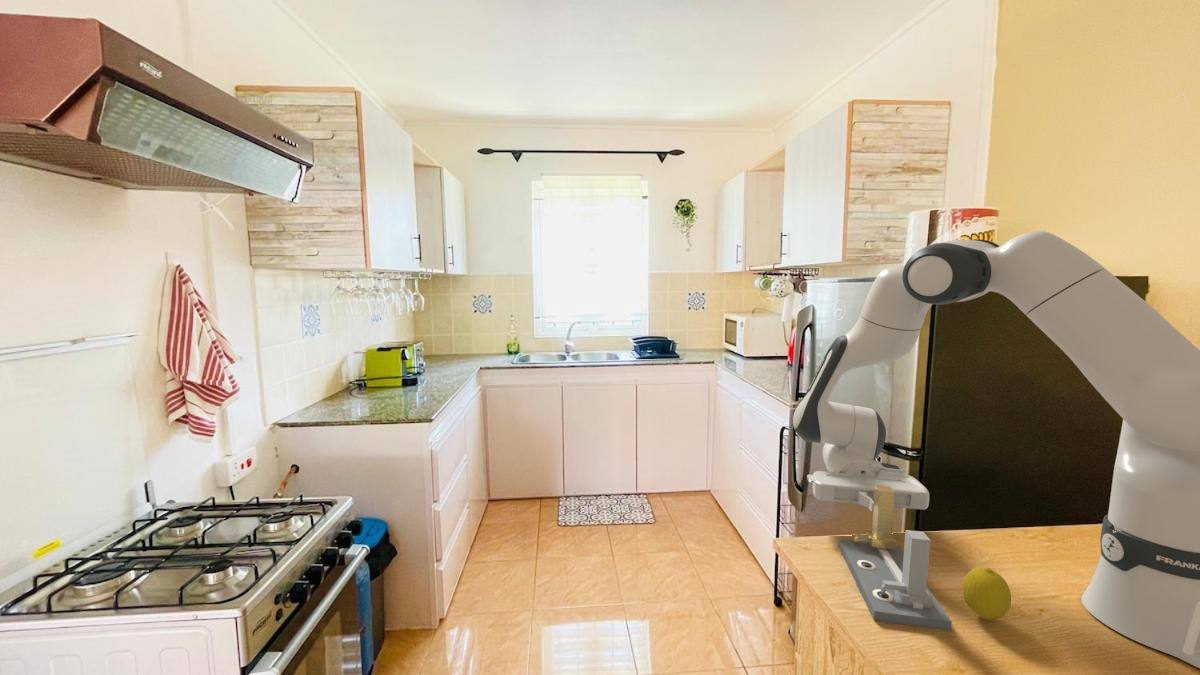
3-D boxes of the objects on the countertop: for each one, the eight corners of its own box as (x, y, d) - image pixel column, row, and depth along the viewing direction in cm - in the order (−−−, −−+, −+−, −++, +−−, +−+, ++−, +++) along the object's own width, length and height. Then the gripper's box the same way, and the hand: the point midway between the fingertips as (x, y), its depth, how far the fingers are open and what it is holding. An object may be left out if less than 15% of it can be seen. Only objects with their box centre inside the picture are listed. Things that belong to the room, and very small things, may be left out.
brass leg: (890, 543, 86) (894, 486, 85) (896, 552, 83) (900, 493, 82) (851, 539, 88) (855, 482, 86) (856, 547, 85) (860, 490, 83)
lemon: (1017, 634, 66) (1023, 582, 66) (973, 629, 68) (978, 577, 67) (993, 608, 72) (998, 559, 71) (952, 603, 73) (957, 555, 72)
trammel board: (897, 552, 87) (901, 491, 85) (950, 631, 67) (957, 552, 66) (838, 546, 89) (841, 485, 87) (873, 620, 70) (879, 544, 68)
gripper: (805, 459, 101) (820, 486, 88) (912, 467, 97) (944, 497, 83) (804, 487, 102) (818, 518, 89) (910, 496, 97) (941, 530, 84)
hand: (880, 508), depth 86 cm, fingers closed
